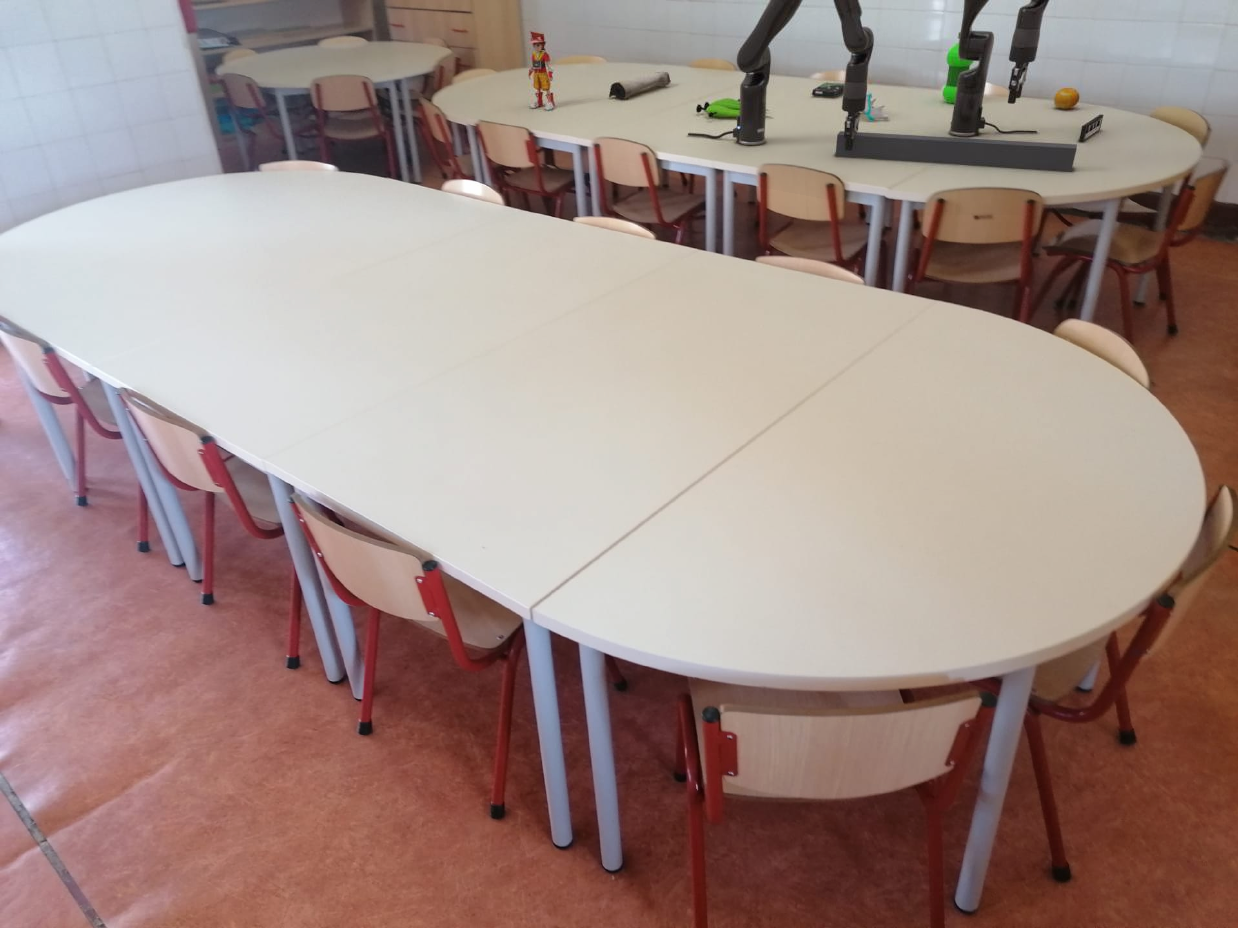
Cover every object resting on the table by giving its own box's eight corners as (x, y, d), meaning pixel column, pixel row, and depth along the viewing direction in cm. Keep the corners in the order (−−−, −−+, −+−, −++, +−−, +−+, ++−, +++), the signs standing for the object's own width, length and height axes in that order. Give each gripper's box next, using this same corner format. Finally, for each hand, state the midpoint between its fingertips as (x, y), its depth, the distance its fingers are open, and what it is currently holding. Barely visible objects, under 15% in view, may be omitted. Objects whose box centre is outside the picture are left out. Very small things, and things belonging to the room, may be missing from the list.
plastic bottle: (973, 101, 354) (984, 32, 339) (955, 106, 349) (966, 36, 335) (952, 97, 361) (962, 29, 346) (934, 102, 356) (944, 33, 342)
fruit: (1050, 100, 335) (1065, 80, 332) (1048, 104, 343) (1063, 84, 340) (1069, 112, 334) (1085, 93, 331) (1067, 116, 342) (1082, 96, 339)
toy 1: (525, 109, 381) (517, 32, 364) (534, 104, 388) (527, 28, 371) (550, 110, 377) (543, 32, 360) (559, 105, 384) (553, 28, 367)
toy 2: (686, 116, 353) (756, 128, 340) (688, 102, 350) (757, 114, 337) (718, 105, 373) (784, 117, 360) (719, 92, 370) (786, 103, 358)
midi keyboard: (1082, 141, 303) (1086, 126, 300) (1078, 141, 304) (1082, 126, 301) (1100, 129, 313) (1103, 115, 310) (1096, 129, 314) (1100, 114, 311)
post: (1071, 167, 282) (1077, 144, 278) (1071, 171, 279) (1076, 148, 274) (838, 152, 308) (840, 131, 304) (835, 156, 305) (837, 134, 300)
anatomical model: (850, 90, 344) (876, 83, 344) (852, 117, 350) (878, 110, 349) (861, 99, 332) (888, 92, 331) (864, 127, 338) (890, 120, 337)
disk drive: (835, 99, 369) (848, 90, 379) (836, 91, 367) (848, 83, 378) (811, 97, 374) (824, 88, 384) (812, 90, 372) (825, 81, 382)
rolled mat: (651, 76, 408) (662, 61, 399) (662, 93, 408) (674, 79, 400) (605, 92, 391) (616, 77, 383) (617, 110, 391) (628, 95, 383)
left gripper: (847, 89, 300) (843, 141, 310) (838, 99, 290) (834, 153, 299) (870, 90, 298) (865, 143, 307) (862, 100, 287) (856, 154, 297)
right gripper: (1016, 40, 278) (1005, 95, 286) (1007, 47, 267) (996, 104, 276) (1041, 41, 274) (1030, 97, 283) (1033, 48, 264) (1022, 106, 273)
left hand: (849, 147), depth 303 cm, fingers closed on post, 4 cm apart
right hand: (1013, 100), depth 280 cm, fingers open, 8 cm apart
